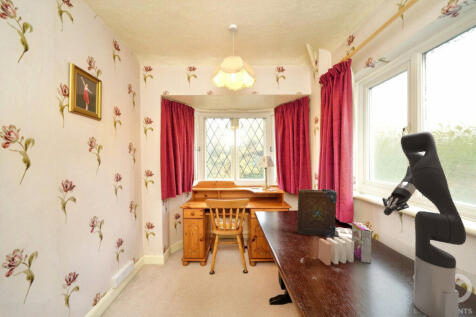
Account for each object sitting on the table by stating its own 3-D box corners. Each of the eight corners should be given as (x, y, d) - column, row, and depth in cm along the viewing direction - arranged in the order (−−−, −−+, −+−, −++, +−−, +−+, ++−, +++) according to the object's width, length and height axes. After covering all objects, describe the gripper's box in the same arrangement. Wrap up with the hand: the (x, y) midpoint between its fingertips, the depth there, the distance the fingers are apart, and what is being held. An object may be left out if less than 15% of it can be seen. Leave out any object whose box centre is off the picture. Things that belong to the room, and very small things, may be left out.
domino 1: (330, 264, 84) (331, 244, 84) (326, 265, 84) (327, 244, 84) (321, 257, 90) (322, 238, 90) (318, 258, 90) (319, 238, 89)
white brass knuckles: (333, 238, 114) (329, 230, 128) (366, 243, 108) (358, 234, 122) (333, 233, 114) (329, 225, 128) (366, 238, 108) (358, 229, 122)
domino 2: (338, 263, 85) (339, 243, 85) (334, 264, 85) (335, 243, 85) (329, 256, 91) (329, 237, 91) (325, 257, 91) (326, 238, 91)
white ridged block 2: (345, 262, 86) (346, 242, 86) (342, 263, 86) (343, 242, 86) (336, 256, 92) (337, 237, 92) (333, 256, 92) (333, 237, 92)
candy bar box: (350, 250, 98) (351, 221, 98) (360, 252, 97) (361, 222, 97) (360, 262, 87) (361, 229, 87) (371, 263, 86) (372, 230, 86)
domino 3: (353, 261, 87) (354, 241, 87) (350, 262, 87) (350, 242, 87) (343, 255, 93) (344, 236, 93) (340, 255, 93) (341, 236, 93)
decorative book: (330, 232, 122) (331, 189, 122) (335, 237, 115) (337, 191, 115) (296, 230, 124) (297, 188, 123) (298, 235, 116) (300, 189, 116)
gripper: (387, 185, 104) (370, 206, 102) (414, 189, 92) (395, 213, 89) (394, 193, 106) (377, 214, 103) (421, 198, 93) (403, 223, 90)
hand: (385, 214), depth 96 cm, fingers closed
